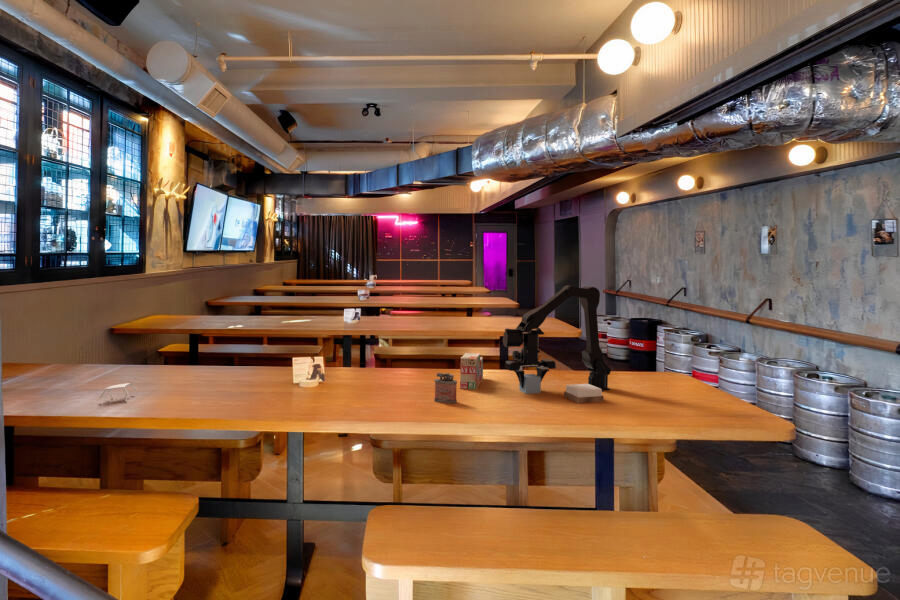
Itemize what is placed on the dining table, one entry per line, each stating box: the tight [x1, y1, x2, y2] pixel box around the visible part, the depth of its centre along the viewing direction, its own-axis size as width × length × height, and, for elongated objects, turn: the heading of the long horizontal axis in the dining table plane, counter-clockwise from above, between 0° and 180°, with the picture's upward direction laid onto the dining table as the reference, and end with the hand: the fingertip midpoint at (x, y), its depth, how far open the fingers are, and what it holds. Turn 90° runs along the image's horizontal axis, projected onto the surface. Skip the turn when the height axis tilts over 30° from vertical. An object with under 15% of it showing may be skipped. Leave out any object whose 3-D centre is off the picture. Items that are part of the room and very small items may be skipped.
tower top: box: [565, 383, 603, 398], centre depth 191 cm, size 9×9×2 cm
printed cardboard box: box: [459, 352, 484, 391], centre depth 215 cm, size 21×6×12 cm, turn 169°
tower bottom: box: [563, 390, 605, 404], centre depth 192 cm, size 10×10×2 cm
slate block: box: [518, 373, 542, 395], centre depth 202 cm, size 6×6×6 cm
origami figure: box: [99, 382, 138, 404], centre depth 185 cm, size 12×8×5 cm
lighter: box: [433, 372, 458, 404], centre depth 186 cm, size 8×3×10 cm, turn 71°
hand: (529, 387), depth 202 cm, fingers closed on slate block, 6 cm apart
